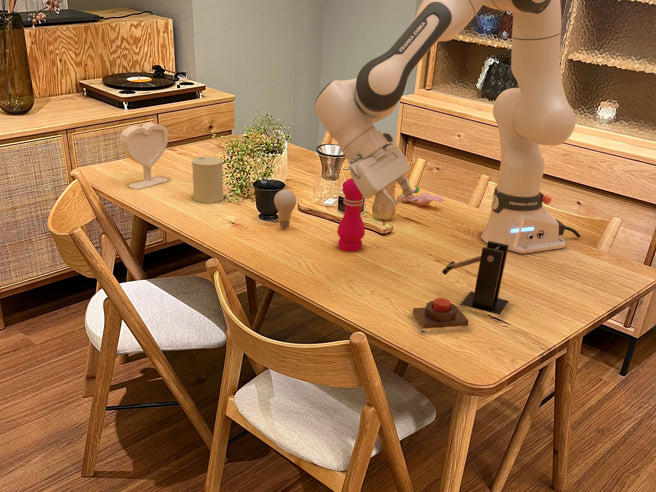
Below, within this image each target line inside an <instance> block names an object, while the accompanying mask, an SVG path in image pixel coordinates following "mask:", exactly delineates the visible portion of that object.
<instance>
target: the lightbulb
mask: <svg viewBox="0 0 656 492" xmlns="http://www.w3.org/2000/svg"><path fill="white" fill-rule="evenodd" d="M273 204H274V206H275V208H276V210H277V213H278V219H279V226H280V228H282V229H285V230H286V229H287V228H289V227H290V221H291V216H292V212H293V211H294V209H295V207H296V205H297V196H296V194H295V193H294V192H293V191H292V190H290V189H287V188H285V189H281V190H279V191H277V192H276V194H275V195H274V198H273Z"/></svg>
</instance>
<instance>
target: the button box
mask: <svg viewBox="0 0 656 492" xmlns="http://www.w3.org/2000/svg"><path fill="white" fill-rule="evenodd" d="M433 304H434V300H431V301H429V302H427V303H426V305H425V307H413V308H412V314H413V316H414V317H415V318H416V321H417V322H418V323H419V324H420V326H421V327H422V329H433V328H448V327H465V326H468V325H469V319H468V318H467V317H466V315H464V313H463V312H462V311H461V310H460V308H459V307H458V306H457V305H455V304H454V303H452V302H451V306H450V311H448V312H439V311H436V310H434V309H433ZM421 333H422V334H424V333H425V334H426V333H428V331H425V330H421Z"/></svg>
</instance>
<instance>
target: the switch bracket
mask: <svg viewBox="0 0 656 492" xmlns="http://www.w3.org/2000/svg"><path fill="white" fill-rule="evenodd" d="M486 244H487V245H486V246H483V247H482V248H481V254H480V256H481V259H480V262H479V265H478V270H477V276H476V280H475V287H474V291H470V292H469V293H468V294H467V296H466V297H465V298H464V299H463V301H462V302H461V303H460V306H465V307H467V308H472V309H476V310H479V311H483V312H487V313H489V314H495V315H498V316H500V315H501V314H502V313H503V311H504V310H505V308H506V306H507V305H508V304H509V300H507V299H504V298H503V299H502V298H499V296H500V295H499V294H500V291H501V287H502V286H501V285H502V280H503V275H504V270H505V266H506V260H507V255H508V251H509V250H508V246H509V245H506V244H501V243H497V242H492V241H488V243H486ZM498 246H500V248H501V251H500V250H496V249H491V248H494V247H498Z"/></svg>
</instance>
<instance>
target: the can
mask: <svg viewBox="0 0 656 492" xmlns="http://www.w3.org/2000/svg"><path fill="white" fill-rule="evenodd" d="M223 164H224V163H223V159H222V158H221V157H217V156H213V155H210V156H209V155H205V156H204V155H203V156H197V157H193V158H192V159H191V167H192V183H193V184H192V187H193V188H192V189H193V197H192V198H193V200H194V201H196V202H199V203H204V204H212V203H213V204H214V203H218V202H221V201H223V200H224V198H225V197H224V179H223V178H224V176H223V175H224V174H223V172H224V171H223V170H224V169H223Z"/></svg>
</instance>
